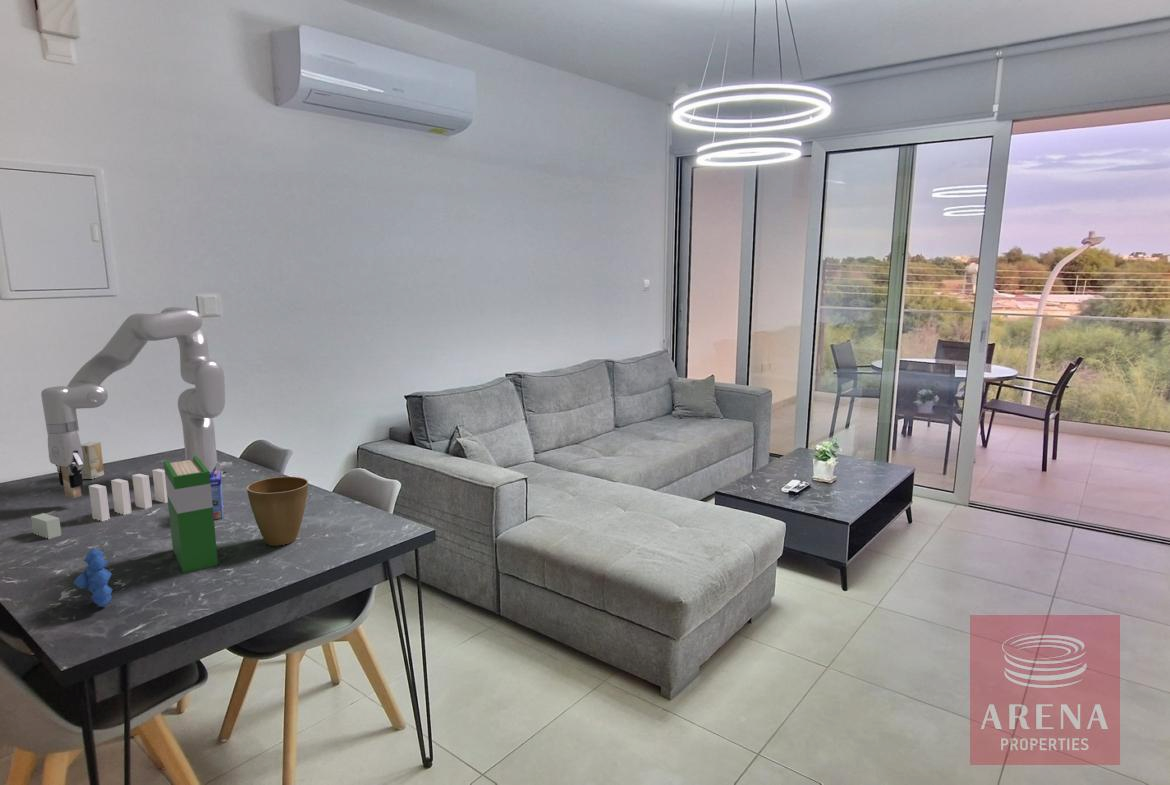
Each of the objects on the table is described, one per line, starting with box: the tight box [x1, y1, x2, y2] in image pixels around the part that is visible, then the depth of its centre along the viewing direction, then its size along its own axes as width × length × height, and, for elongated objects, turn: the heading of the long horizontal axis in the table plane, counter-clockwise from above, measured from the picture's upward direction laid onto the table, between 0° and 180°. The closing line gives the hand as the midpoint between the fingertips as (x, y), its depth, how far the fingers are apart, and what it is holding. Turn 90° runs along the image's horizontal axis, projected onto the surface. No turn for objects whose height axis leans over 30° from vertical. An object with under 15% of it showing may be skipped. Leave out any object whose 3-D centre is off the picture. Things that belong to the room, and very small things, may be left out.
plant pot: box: [246, 476, 309, 547], centre depth 176 cm, size 15×15×16 cm
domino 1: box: [61, 463, 82, 499], centre depth 201 cm, size 2×5×10 cm, turn 64°
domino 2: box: [88, 483, 111, 522], centre depth 191 cm, size 2×5×10 cm, turn 63°
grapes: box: [73, 548, 114, 607], centre depth 142 cm, size 12×7×12 cm, turn 45°
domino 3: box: [110, 478, 132, 516], centre depth 197 cm, size 2×5×10 cm, turn 63°
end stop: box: [30, 512, 62, 540], centre depth 180 cm, size 3×8×5 cm, turn 63°
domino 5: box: [152, 468, 168, 504], centre depth 207 cm, size 2×5×10 cm, turn 63°
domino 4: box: [131, 473, 153, 510], centre depth 202 cm, size 2×5×10 cm, turn 63°
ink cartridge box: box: [210, 466, 224, 520], centre depth 195 cm, size 10×6×14 cm, turn 28°
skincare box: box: [81, 441, 105, 480], centre depth 231 cm, size 6×4×12 cm
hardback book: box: [163, 456, 219, 574], centre depth 165 cm, size 18×7×24 cm, turn 39°
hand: (71, 484), depth 201 cm, fingers closed on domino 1, 4 cm apart
